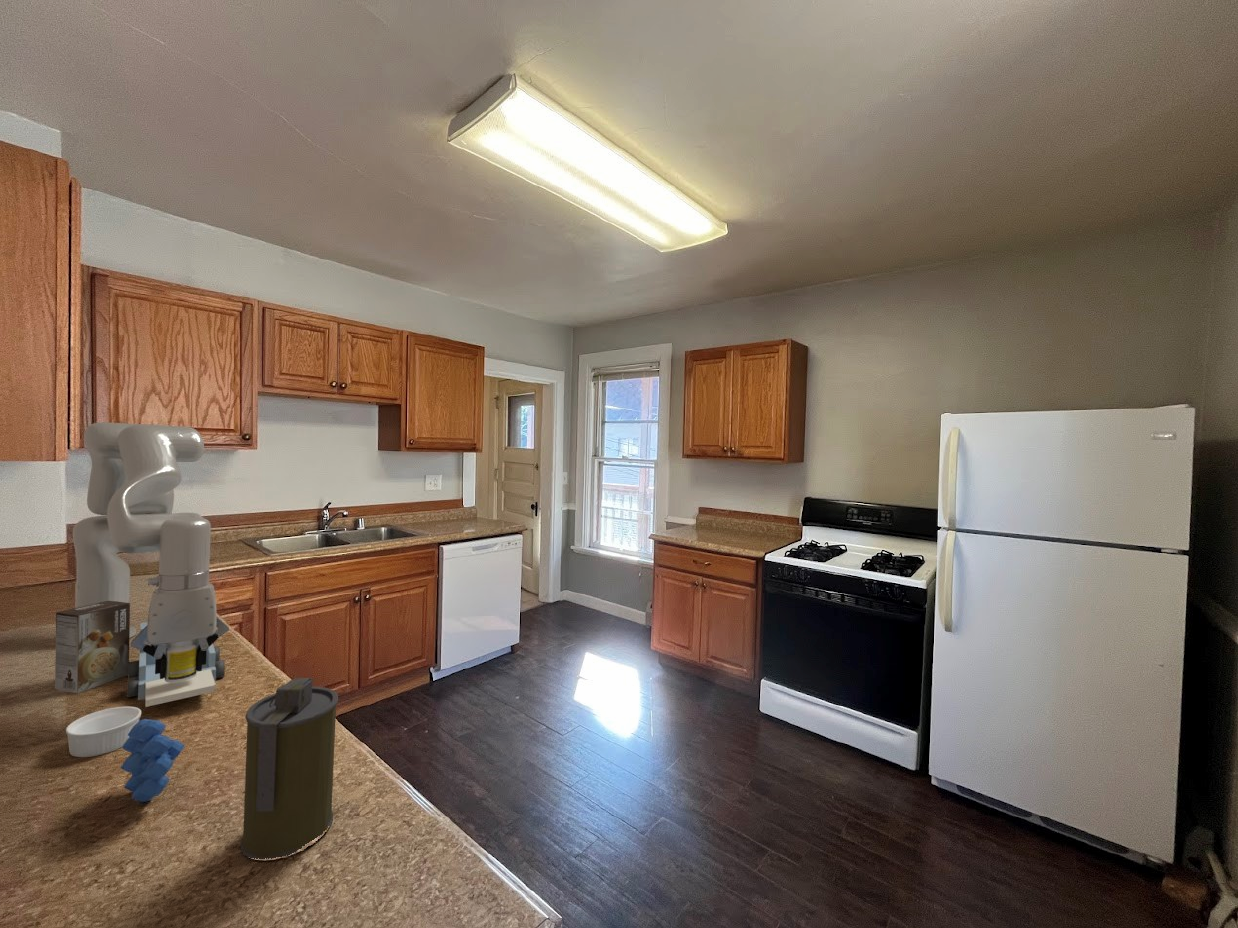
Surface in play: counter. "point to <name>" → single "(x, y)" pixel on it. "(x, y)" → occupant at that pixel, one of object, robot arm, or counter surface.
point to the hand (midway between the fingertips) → (180, 671)
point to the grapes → (149, 759)
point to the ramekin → (101, 731)
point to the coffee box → (92, 645)
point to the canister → (289, 769)
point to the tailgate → (178, 688)
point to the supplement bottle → (181, 661)
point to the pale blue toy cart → (146, 673)
